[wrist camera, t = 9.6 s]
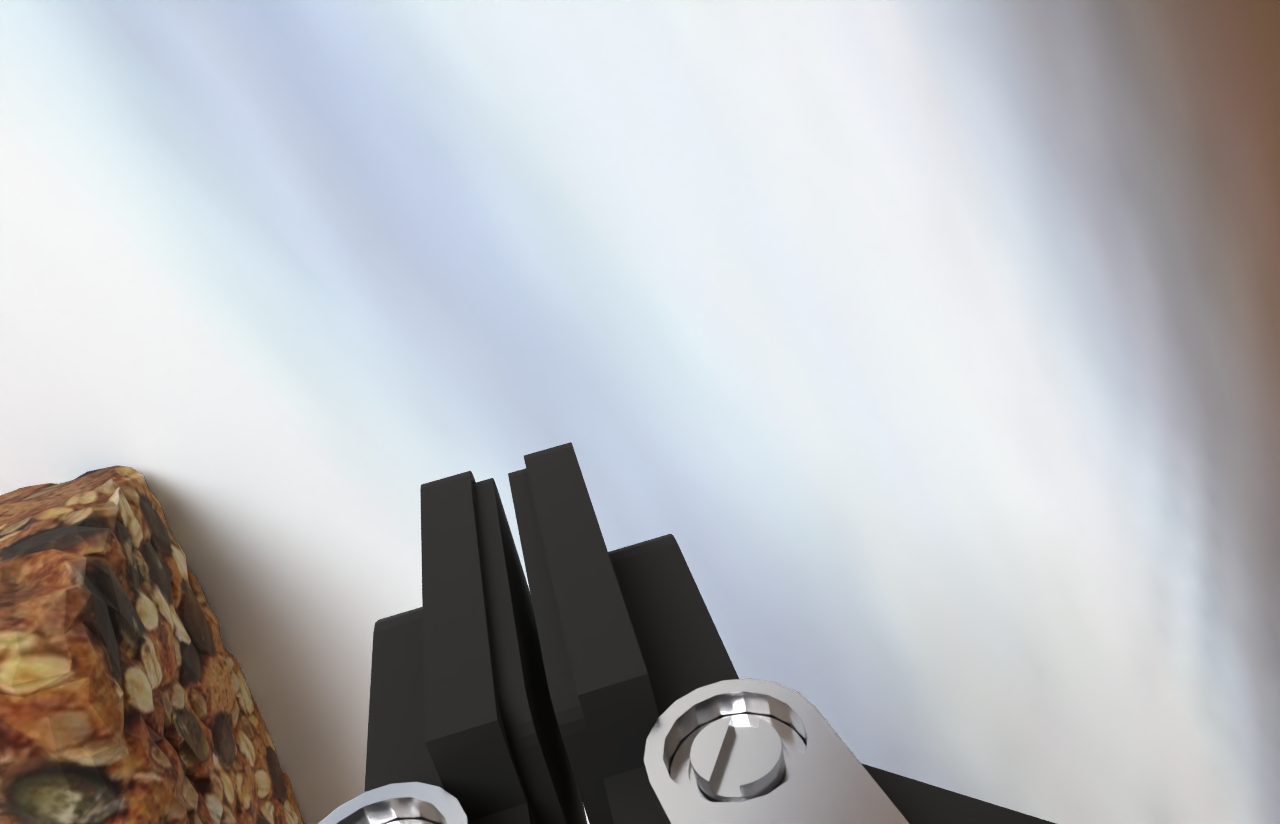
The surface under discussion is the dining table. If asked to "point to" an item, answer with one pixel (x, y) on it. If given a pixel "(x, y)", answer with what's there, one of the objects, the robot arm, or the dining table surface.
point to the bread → (119, 671)
